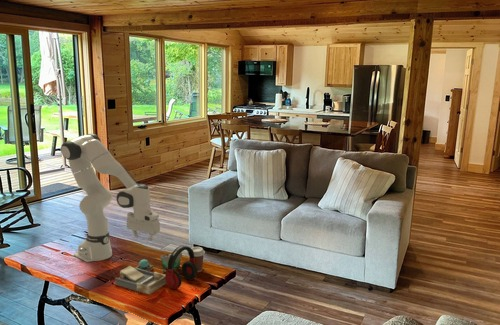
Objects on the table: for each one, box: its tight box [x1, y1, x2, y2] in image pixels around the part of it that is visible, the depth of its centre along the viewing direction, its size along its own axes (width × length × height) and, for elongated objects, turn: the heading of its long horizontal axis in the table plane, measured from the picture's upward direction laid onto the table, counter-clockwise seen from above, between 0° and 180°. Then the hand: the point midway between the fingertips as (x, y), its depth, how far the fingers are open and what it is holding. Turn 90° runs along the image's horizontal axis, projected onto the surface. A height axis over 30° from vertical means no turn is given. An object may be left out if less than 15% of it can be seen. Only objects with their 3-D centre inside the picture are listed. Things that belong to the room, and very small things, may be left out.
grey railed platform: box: [114, 267, 154, 292], centre depth 204 cm, size 14×14×3 cm
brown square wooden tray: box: [134, 264, 154, 272], centre depth 218 cm, size 7×7×2 cm
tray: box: [136, 271, 167, 296], centre depth 200 cm, size 8×14×4 cm, turn 154°
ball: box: [138, 259, 150, 269], centre depth 217 cm, size 5×5×5 cm
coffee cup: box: [190, 246, 206, 273], centre depth 219 cm, size 9×9×12 cm
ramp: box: [119, 265, 144, 282], centre depth 205 cm, size 10×7×4 cm
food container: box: [159, 252, 183, 274], centre depth 216 cm, size 12×6×10 cm, turn 123°
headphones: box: [164, 245, 198, 290], centre depth 202 cm, size 18×10×20 cm, turn 147°
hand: (143, 238), depth 214 cm, fingers open, 8 cm apart
